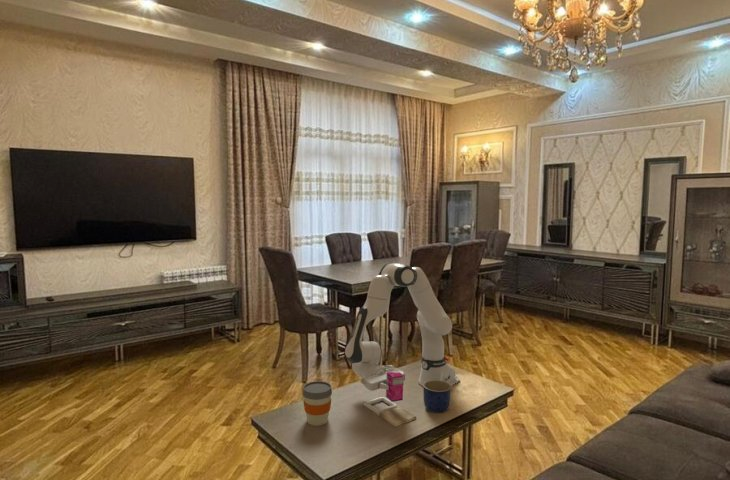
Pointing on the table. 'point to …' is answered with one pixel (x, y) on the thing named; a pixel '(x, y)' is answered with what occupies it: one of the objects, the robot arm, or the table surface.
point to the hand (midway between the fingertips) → (395, 385)
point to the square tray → (368, 403)
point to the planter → (436, 395)
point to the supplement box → (394, 386)
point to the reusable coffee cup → (317, 402)
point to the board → (397, 416)
